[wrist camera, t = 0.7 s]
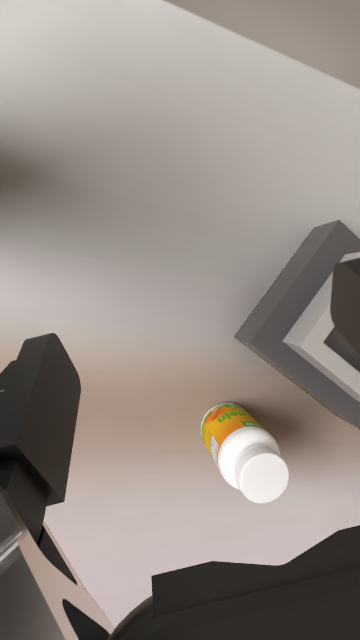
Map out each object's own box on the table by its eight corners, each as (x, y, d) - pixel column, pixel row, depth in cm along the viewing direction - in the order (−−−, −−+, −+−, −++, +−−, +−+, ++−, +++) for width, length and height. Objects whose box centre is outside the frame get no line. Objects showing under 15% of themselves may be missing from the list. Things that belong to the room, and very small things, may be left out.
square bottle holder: (234, 336, 34) (263, 348, 27) (313, 227, 34) (362, 212, 27) (335, 415, 37) (385, 444, 30) (407, 314, 37) (473, 319, 30)
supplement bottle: (248, 398, 35) (297, 439, 25) (250, 447, 35) (299, 506, 26) (198, 404, 34) (229, 449, 24) (200, 455, 34) (232, 518, 25)
